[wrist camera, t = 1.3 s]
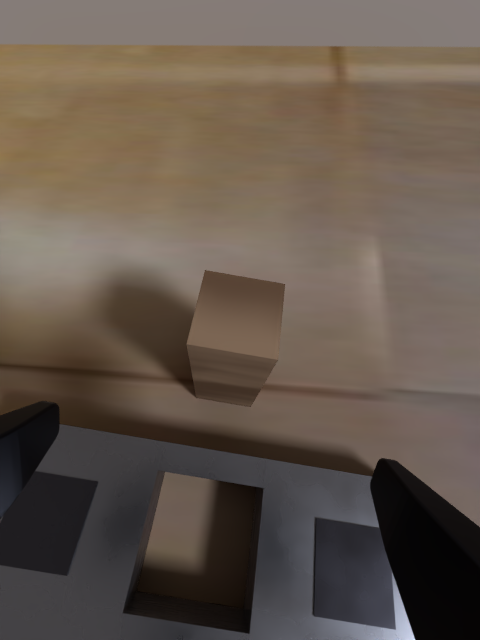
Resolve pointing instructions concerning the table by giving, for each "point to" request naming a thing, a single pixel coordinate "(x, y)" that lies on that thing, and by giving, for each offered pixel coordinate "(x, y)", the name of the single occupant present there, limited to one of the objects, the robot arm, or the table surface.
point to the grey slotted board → (133, 534)
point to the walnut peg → (234, 337)
